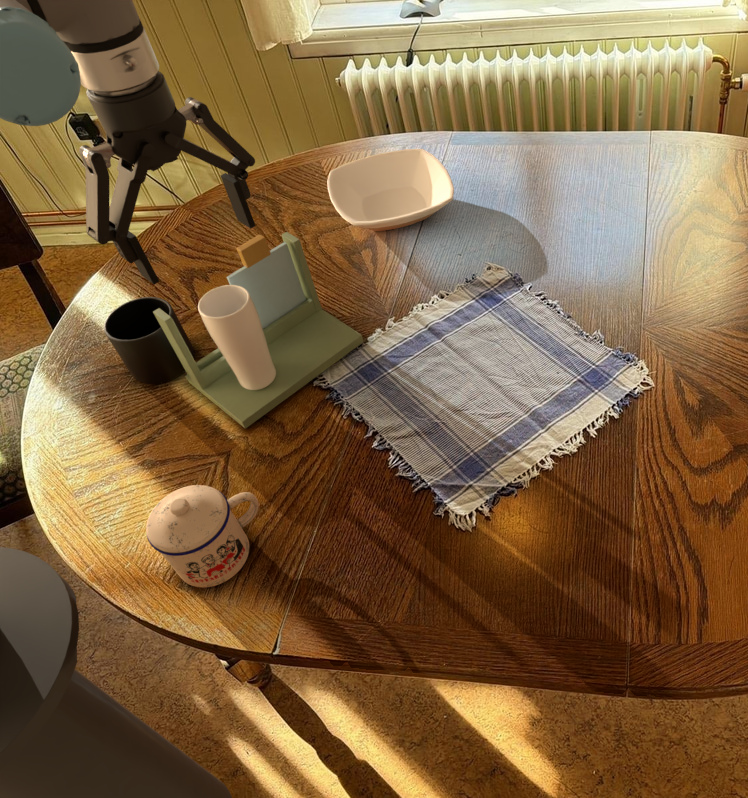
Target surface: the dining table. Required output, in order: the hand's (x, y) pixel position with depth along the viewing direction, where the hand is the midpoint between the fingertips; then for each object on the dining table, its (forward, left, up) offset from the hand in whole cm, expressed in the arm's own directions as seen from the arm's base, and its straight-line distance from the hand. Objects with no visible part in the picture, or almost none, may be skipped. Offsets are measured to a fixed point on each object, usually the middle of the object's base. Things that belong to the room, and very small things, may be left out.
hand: (200, 250), depth 91 cm
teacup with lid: (-20, -19, -25) cm, 37 cm away
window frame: (+5, +2, -25) cm, 25 cm away
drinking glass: (0, 0, -23) cm, 23 cm away
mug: (-7, +17, -25) cm, 31 cm away
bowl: (+42, +17, -25) cm, 52 cm away
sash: (+9, +6, -23) cm, 26 cm away
